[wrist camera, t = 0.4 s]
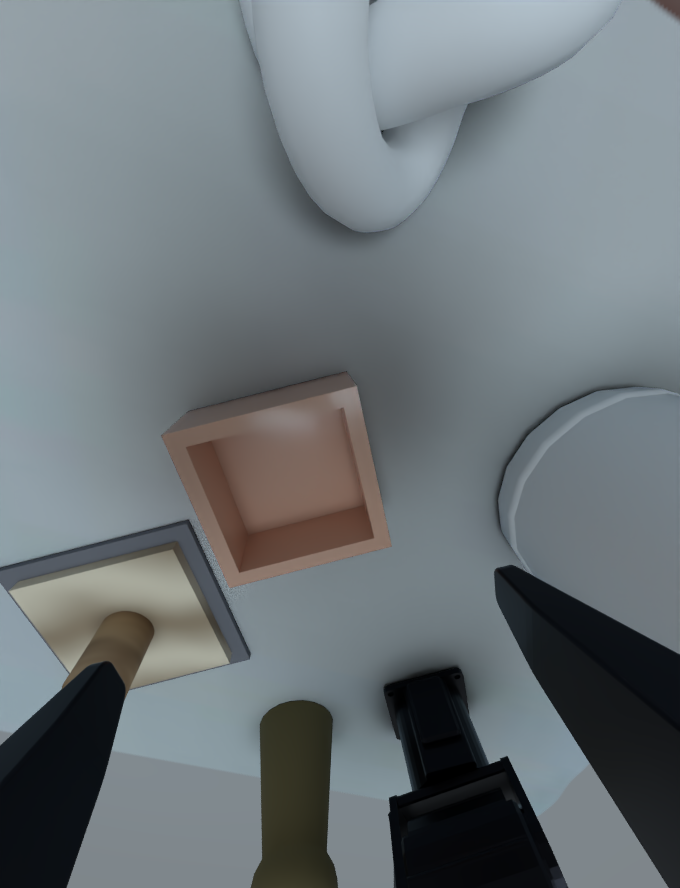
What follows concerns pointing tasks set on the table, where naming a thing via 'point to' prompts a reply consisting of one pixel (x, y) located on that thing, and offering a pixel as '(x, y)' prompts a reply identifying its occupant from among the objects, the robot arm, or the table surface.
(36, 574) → the mat
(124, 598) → the lid
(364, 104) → the white decorative knot
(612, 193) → the table surface
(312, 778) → the olive pestle
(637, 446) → the bottle
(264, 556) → the pink open box
